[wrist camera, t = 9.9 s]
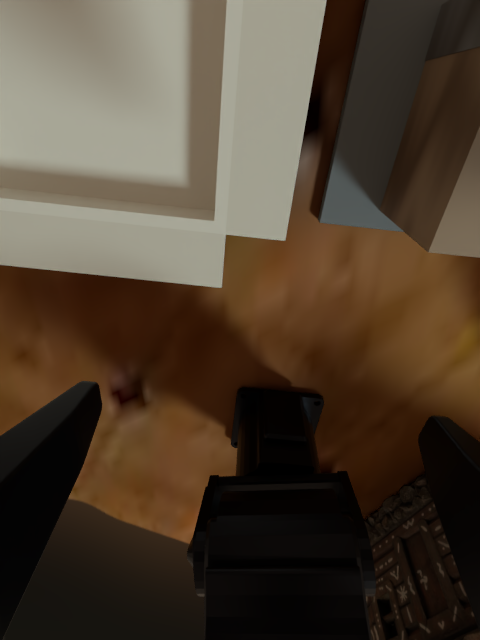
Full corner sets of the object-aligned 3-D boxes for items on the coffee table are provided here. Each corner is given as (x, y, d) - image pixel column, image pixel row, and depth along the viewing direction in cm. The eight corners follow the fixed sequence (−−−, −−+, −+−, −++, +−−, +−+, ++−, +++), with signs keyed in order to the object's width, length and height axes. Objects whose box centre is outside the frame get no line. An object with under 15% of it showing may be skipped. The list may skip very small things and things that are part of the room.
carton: (274, 275, 21) (276, 293, 19) (-63, 239, 20) (-97, 254, 18) (388, -422, 10) (423, -563, 7) (-357, -526, 9) (-534, -708, 7)
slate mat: (496, 238, 19) (502, 242, 19) (318, 219, 19) (319, 222, 18) (619, -3, 14) (633, -7, 13) (372, -33, 14) (377, -38, 13)
